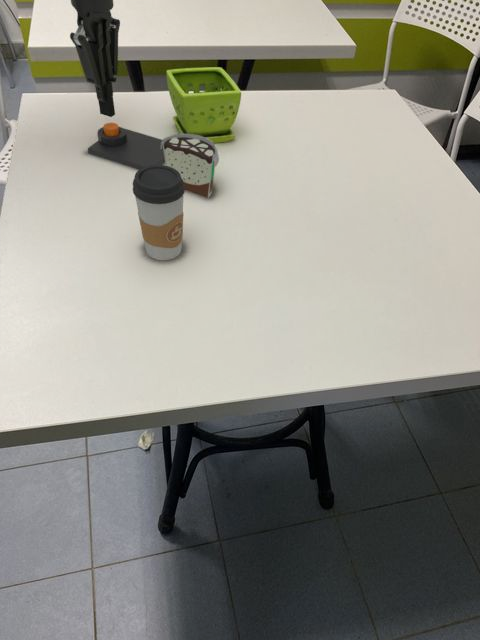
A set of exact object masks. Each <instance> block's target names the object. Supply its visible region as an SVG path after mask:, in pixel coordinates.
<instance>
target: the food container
mask: <svg viewBox="0 0 480 640" xmlns="http://www.w3.org/2000/svg"><path fill="white" fill-rule="evenodd" d="M161 140H162V142H161V149H162V148H163V150H164V157H165V163H164V164H165V166H169V167H172V168H174V169H175V170H177V171H178V172H179V173H180V175H181V178H182V179H183V182H184V188H185V191H187V192H190V193H193V194H195V195H199V196H200V197H201V196H202V197H204V198H207V199H210V198H211V196H212V194H213V186H214V177H215V169H216V167H218V164H219V162H220V156H219V152H218V148H217V146H216V145H215V144H216V143H213V142H212V141H210V140H209V139H207V138H205V137H202V136H199V135H194V134H181V133H176V134H171V135H168V136H166V137H164V138H161Z"/></svg>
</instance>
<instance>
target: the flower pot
mask: <svg viewBox="0 0 480 640" xmlns="http://www.w3.org/2000/svg"><path fill="white" fill-rule="evenodd" d="M166 82H167V88H168V93H169V98H170V101H171V104H172V106H173V109H174V111H175V114H176V115H174V116H172V120H173V121H174V124H175V125H176V127H177V130H178V131H179V134H194V135H199V136H202V137H205V138H207V139H209V140H210V141H212V142H213V143H214V144H219V143H229V142H230V141H232V140H233V139H235V133H234V132H233V130H232V129H231V128H232V127H233V125H234V123H235V121H236V118H237V116H238V113H239V110H240V105H241V100H242V91H241V89H240V88H239V86H238V85H237V83H236V82H235V81H234V79H232V77H231V76H230V75H229V74H228V73H227V72H226V70H225V69H224V68H223V67H219V66H214V67H213V66H212V67H211V66H209V67H185V68H173V69H167V70H166ZM211 84H212V85H211ZM190 85H191V86H190ZM200 86H204V90H203V91H200ZM190 92H192V93H190Z"/></svg>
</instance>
